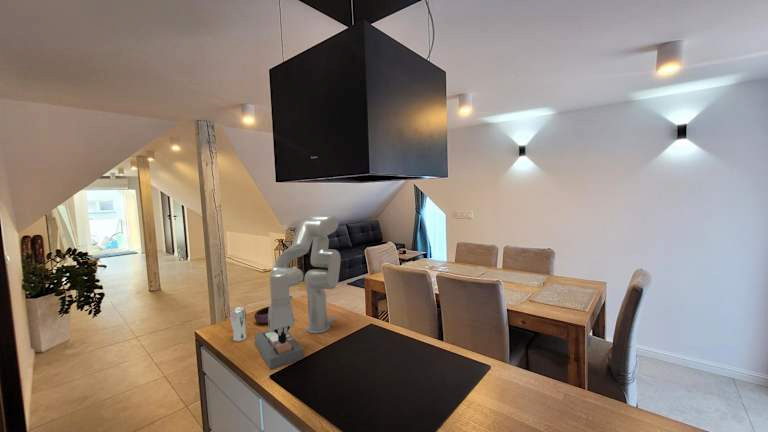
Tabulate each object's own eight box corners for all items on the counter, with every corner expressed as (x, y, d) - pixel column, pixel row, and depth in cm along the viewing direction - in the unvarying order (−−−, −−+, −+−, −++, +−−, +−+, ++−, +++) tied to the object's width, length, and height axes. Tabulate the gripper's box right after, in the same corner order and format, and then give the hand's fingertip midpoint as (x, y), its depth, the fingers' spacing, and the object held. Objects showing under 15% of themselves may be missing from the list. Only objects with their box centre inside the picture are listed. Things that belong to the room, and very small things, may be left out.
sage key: (276, 336, 156) (276, 330, 156) (280, 340, 152) (279, 334, 151) (265, 339, 153) (264, 333, 153) (268, 343, 148) (267, 337, 148)
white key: (281, 340, 149) (281, 333, 148) (285, 344, 144) (285, 338, 144) (269, 343, 145) (269, 337, 145) (273, 348, 141) (272, 342, 141)
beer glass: (241, 342, 154) (239, 312, 153) (229, 341, 155) (226, 311, 154) (250, 335, 161) (248, 307, 159) (238, 334, 162) (236, 306, 161)
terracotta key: (287, 347, 141) (287, 341, 141) (291, 352, 137) (291, 346, 136) (275, 351, 138) (274, 345, 138) (278, 357, 133) (278, 350, 133)
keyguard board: (284, 334, 160) (283, 326, 160) (303, 358, 137) (302, 348, 137) (255, 343, 153) (254, 333, 152) (270, 369, 130) (269, 358, 129)
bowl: (265, 328, 169) (264, 314, 168) (250, 323, 175) (249, 309, 175) (288, 317, 182) (288, 304, 181) (274, 313, 189) (273, 300, 188)
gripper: (294, 295, 142) (296, 334, 144) (260, 302, 134) (262, 344, 135) (300, 299, 136) (302, 340, 138) (264, 307, 128) (266, 351, 129)
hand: (282, 342), depth 137 cm, fingers closed
